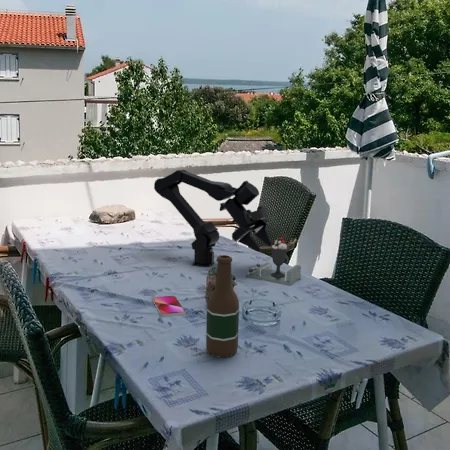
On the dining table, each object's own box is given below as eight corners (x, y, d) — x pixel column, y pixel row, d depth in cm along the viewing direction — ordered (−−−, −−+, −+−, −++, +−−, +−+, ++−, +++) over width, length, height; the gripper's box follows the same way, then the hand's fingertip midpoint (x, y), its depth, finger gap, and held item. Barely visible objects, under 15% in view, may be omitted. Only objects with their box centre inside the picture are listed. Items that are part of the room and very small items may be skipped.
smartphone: (174, 295, 170) (186, 312, 157) (174, 298, 171) (186, 315, 157) (151, 297, 168) (161, 314, 154) (151, 300, 168) (161, 317, 154)
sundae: (289, 278, 188) (291, 235, 185) (270, 278, 188) (272, 235, 185) (285, 272, 195) (287, 231, 192) (267, 272, 194) (268, 231, 191)
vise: (245, 276, 192) (246, 264, 191) (258, 269, 200) (258, 257, 199) (289, 285, 184) (290, 272, 183) (300, 277, 193) (301, 265, 192)
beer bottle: (205, 344, 138) (206, 252, 132) (236, 344, 138) (239, 252, 133) (206, 358, 130) (208, 261, 125) (239, 358, 131) (242, 261, 125)
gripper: (241, 202, 183) (269, 240, 180) (265, 195, 199) (291, 229, 196) (220, 222, 188) (247, 259, 185) (245, 214, 204) (270, 247, 201)
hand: (265, 248), depth 192 cm, fingers open, 9 cm apart
